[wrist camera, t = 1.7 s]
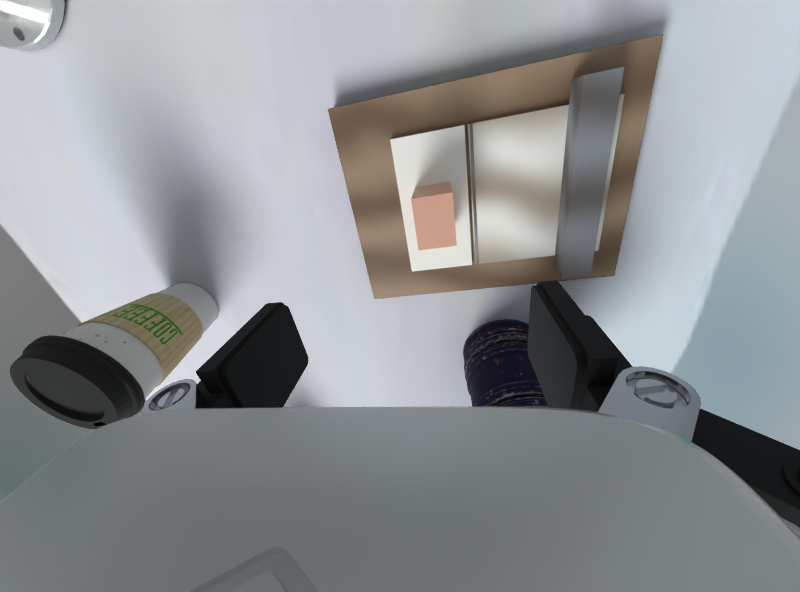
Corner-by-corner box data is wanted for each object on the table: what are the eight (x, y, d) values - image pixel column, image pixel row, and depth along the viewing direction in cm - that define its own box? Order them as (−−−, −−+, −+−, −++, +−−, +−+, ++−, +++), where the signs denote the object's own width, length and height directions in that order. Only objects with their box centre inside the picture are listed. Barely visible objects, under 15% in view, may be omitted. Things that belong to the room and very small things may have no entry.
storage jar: (450, 332, 35) (460, 450, 22) (534, 307, 32) (601, 425, 19) (476, 388, 39) (497, 514, 26) (553, 370, 36) (618, 502, 23)
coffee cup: (200, 259, 34) (53, 340, 21) (246, 326, 38) (149, 427, 25) (139, 280, 36) (-26, 363, 23) (189, 340, 40) (74, 439, 27)
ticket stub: (390, 139, 24) (380, 141, 19) (464, 125, 23) (471, 123, 18) (412, 270, 30) (407, 295, 25) (471, 263, 29) (478, 288, 24)
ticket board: (333, 110, 25) (317, 106, 21) (649, 40, 21) (691, 22, 17) (376, 292, 33) (370, 310, 30) (606, 269, 29) (628, 287, 26)
